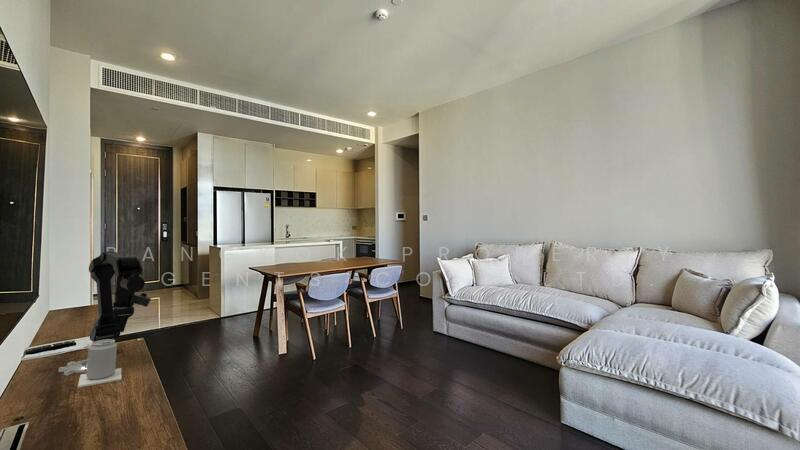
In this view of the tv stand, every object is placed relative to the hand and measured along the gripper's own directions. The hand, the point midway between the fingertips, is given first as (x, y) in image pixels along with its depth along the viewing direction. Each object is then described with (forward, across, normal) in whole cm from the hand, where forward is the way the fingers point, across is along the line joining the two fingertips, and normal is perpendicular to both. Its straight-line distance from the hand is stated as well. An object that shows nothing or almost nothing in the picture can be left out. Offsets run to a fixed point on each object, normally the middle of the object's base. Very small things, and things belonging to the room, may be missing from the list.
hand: (121, 329), depth 132 cm
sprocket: (+13, +1, +9) cm, 16 cm away
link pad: (+13, -14, +5) cm, 20 cm away
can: (+13, -14, +5) cm, 19 cm away
